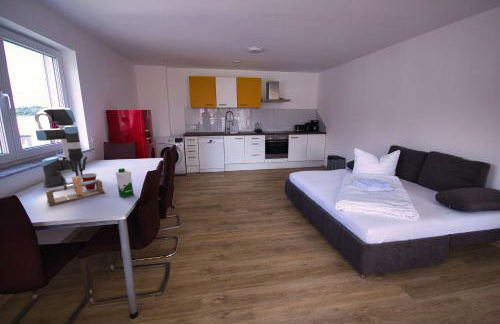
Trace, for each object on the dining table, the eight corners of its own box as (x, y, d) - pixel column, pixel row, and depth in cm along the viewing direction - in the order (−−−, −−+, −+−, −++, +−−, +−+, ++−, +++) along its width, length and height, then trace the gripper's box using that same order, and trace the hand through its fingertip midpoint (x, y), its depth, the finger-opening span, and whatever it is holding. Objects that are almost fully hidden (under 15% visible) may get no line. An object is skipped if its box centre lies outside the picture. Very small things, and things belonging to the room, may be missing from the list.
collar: (74, 191, 168) (71, 177, 166) (79, 190, 171) (76, 176, 168) (78, 194, 161) (75, 179, 159) (83, 193, 163) (80, 178, 161)
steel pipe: (49, 192, 155) (48, 187, 154) (98, 182, 176) (97, 178, 175) (49, 193, 153) (48, 188, 152) (99, 183, 174) (98, 179, 173)
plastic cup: (90, 191, 178) (88, 176, 175) (79, 190, 180) (76, 176, 178) (102, 187, 188) (100, 173, 186) (91, 186, 191) (88, 172, 188)
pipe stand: (47, 201, 158) (44, 189, 156) (100, 190, 181) (98, 179, 179) (50, 206, 150) (47, 193, 148) (105, 193, 173) (103, 182, 171)
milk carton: (128, 192, 174) (125, 167, 170) (135, 194, 169) (132, 168, 165) (117, 196, 167) (113, 170, 163) (124, 198, 162) (120, 171, 158)
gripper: (64, 149, 153) (70, 183, 158) (86, 147, 163) (92, 179, 168) (61, 148, 158) (68, 181, 163) (84, 146, 168) (89, 177, 173)
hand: (80, 180), depth 166 cm, fingers closed
